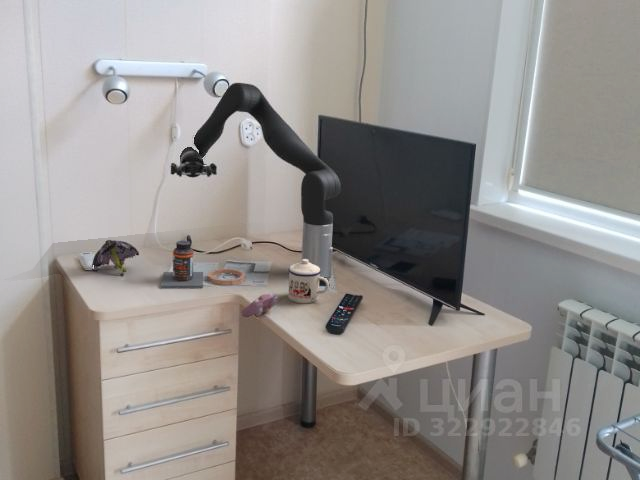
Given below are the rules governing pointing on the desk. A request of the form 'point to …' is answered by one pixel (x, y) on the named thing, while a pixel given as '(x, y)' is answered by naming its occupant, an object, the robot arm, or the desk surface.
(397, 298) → the desk surface
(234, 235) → the desk surface
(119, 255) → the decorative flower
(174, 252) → the supplement bottle
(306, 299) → the teacup with lid
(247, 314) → the video game controller
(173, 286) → the grey mat
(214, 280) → the terracotta ring
